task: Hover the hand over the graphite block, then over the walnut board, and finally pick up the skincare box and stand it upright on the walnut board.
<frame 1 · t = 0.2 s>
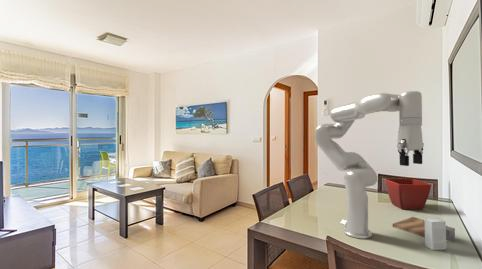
hand: (411, 164, 97), 36 cm above the table, tool pointing down, fingers open, 9 cm apart
plant pot: (406, 207, 158), on the table
skincare box: (435, 248, 102), on the table
graphite block: (445, 238, 111), on the table
walnut board: (419, 227, 123), on the table
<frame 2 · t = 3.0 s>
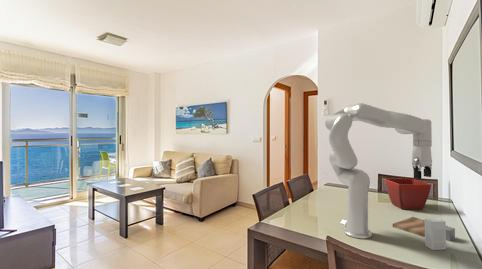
hand: (422, 177, 121), 26 cm above the table, tool pointing down, fingers open, 9 cm apart
nothing on the table moved.
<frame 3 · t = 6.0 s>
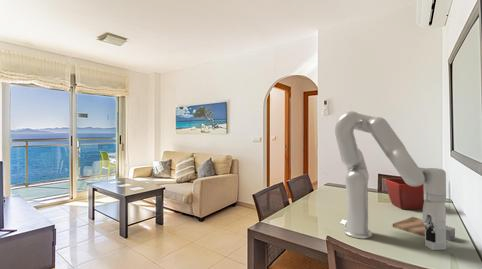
hand: (435, 238, 102), 4 cm above the table, tool pointing down, fingers closed on skincare box, 7 cm apart
skincare box: (435, 248, 102), on the table, touching gripper
everything else where it was.
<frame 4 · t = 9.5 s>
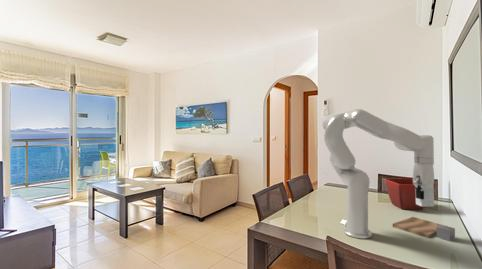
hand: (424, 197, 116), 18 cm above the table, tool pointing down, fingers closed on skincare box, 7 cm apart
skincare box: (424, 205, 116), point 14 cm above the table, touching gripper
everything else where it was.
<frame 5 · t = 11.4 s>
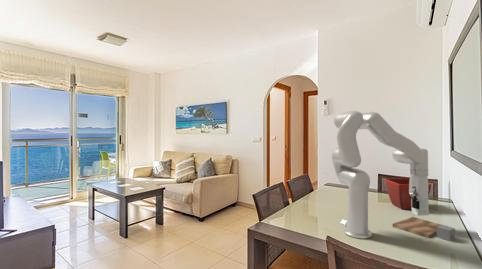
hand: (419, 206, 123), 11 cm above the table, tool pointing down, fingers closed on skincare box, 7 cm apart
skincare box: (419, 214, 123), point 7 cm above the table, touching gripper
everything else where it was.
when the fingers open (6 cm above the table, at t = 12.8 s): skincare box stays where it is, resting on walnut board.
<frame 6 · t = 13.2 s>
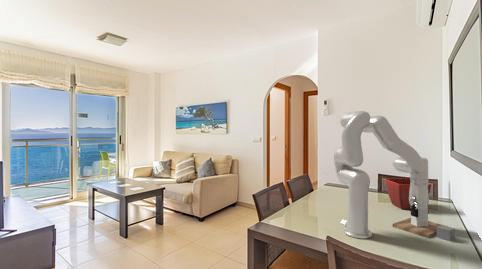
hand: (419, 214, 123), 7 cm above the table, tool pointing down, fingers open, 9 cm apart
skincare box: (419, 225, 123), point 1 cm above the table, touching walnut board
everything else where it was.
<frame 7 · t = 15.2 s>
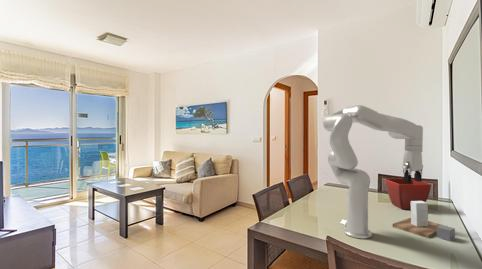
hand: (412, 181, 124), 24 cm above the table, tool pointing down, fingers open, 9 cm apart
nothing on the table moved.
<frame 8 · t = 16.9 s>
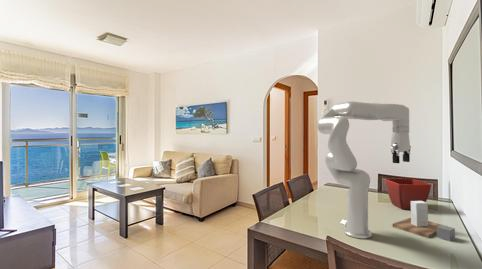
hand: (401, 162, 128), 33 cm above the table, tool pointing down, fingers open, 9 cm apart
nothing on the table moved.
at the end: skincare box inside the target area on the walnut board (0.4 cm from its centre), point 1.3 cm above the walnut board's base; skincare box tilted 0°; graphite block moved 0.1 cm from its start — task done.
